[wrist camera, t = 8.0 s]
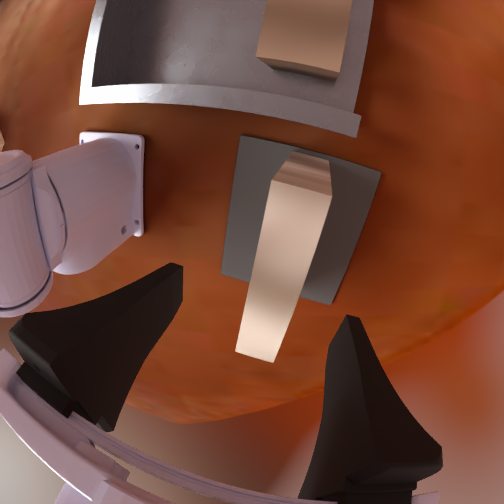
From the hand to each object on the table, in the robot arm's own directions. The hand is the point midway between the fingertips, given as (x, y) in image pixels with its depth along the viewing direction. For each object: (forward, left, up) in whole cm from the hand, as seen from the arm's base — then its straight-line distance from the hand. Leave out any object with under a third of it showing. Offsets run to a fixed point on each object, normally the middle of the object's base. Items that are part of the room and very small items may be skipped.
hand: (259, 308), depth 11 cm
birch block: (-1, 0, -10) cm, 10 cm away
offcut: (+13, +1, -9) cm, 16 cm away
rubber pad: (-1, 0, -10) cm, 10 cm away
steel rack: (+16, +7, -10) cm, 20 cm away
